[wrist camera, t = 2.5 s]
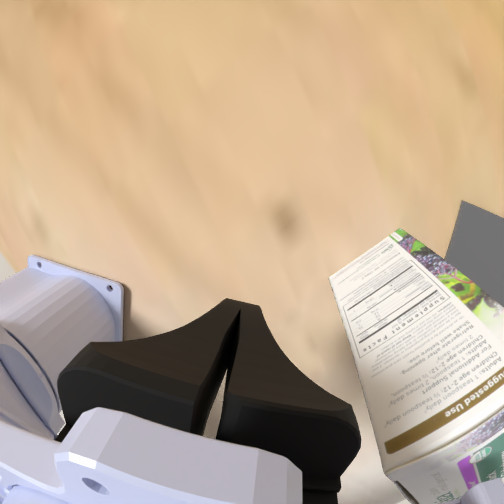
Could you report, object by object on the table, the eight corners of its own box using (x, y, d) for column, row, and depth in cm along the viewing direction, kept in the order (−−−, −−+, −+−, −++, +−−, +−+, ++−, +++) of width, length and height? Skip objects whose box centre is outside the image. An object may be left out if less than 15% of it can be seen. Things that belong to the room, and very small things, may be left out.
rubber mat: (393, 376, 21) (394, 378, 21) (461, 200, 17) (464, 201, 17) (513, 382, 21) (515, 384, 21) (571, 254, 17) (573, 255, 16)
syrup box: (433, 292, 19) (555, 438, 5) (364, 339, 21) (426, 524, 7) (398, 225, 18) (567, 351, 4) (322, 278, 20) (378, 483, 6)
